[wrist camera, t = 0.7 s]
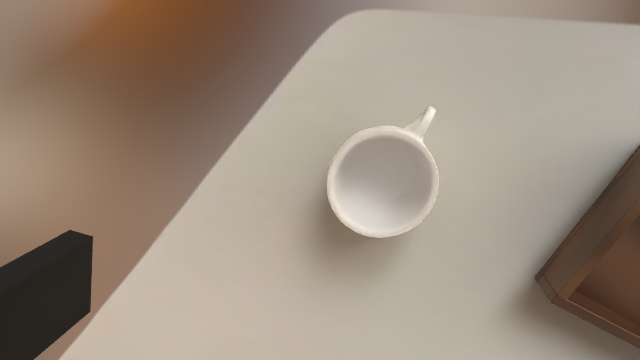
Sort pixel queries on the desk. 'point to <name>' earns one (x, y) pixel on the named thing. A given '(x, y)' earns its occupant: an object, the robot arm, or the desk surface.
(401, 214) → the teacup
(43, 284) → the robot arm
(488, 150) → the desk surface
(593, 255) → the wooden compartment tray
